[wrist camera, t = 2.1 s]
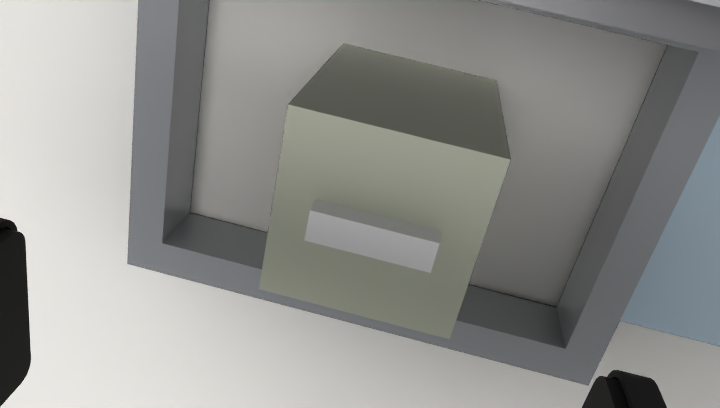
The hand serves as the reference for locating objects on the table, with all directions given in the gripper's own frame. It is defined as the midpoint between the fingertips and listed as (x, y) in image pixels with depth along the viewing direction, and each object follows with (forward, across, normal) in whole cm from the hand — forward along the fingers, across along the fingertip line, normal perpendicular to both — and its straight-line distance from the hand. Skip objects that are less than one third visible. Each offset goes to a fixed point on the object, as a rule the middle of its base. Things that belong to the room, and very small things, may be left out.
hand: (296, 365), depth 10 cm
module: (+12, -1, 0) cm, 12 cm away
